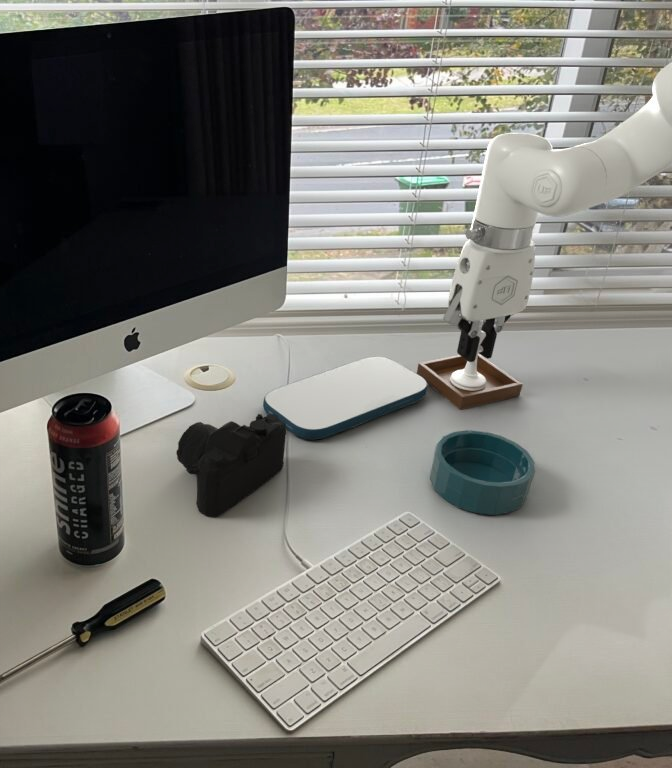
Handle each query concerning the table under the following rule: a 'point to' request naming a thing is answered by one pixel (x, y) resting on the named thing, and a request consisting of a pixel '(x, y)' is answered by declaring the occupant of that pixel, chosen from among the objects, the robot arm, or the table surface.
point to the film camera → (232, 460)
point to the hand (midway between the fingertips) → (474, 355)
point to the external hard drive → (344, 397)
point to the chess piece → (470, 371)
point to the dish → (482, 472)
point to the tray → (495, 390)
